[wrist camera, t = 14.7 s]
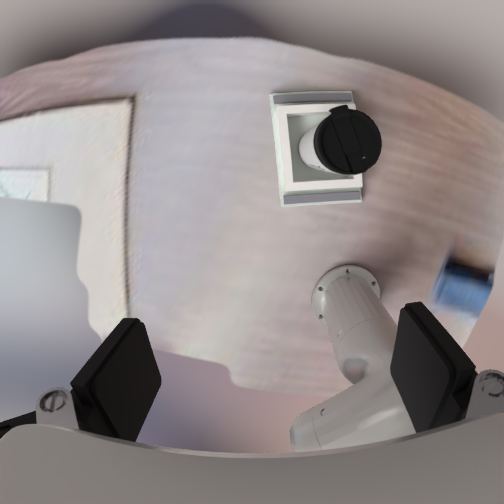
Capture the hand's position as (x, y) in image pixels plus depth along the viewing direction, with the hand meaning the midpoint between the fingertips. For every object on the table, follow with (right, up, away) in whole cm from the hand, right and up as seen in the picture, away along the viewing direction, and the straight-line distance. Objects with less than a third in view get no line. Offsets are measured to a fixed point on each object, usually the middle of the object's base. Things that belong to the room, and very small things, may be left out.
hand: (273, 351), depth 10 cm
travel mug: (+9, +19, +33) cm, 39 cm away
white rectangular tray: (+9, +20, +33) cm, 40 cm away
